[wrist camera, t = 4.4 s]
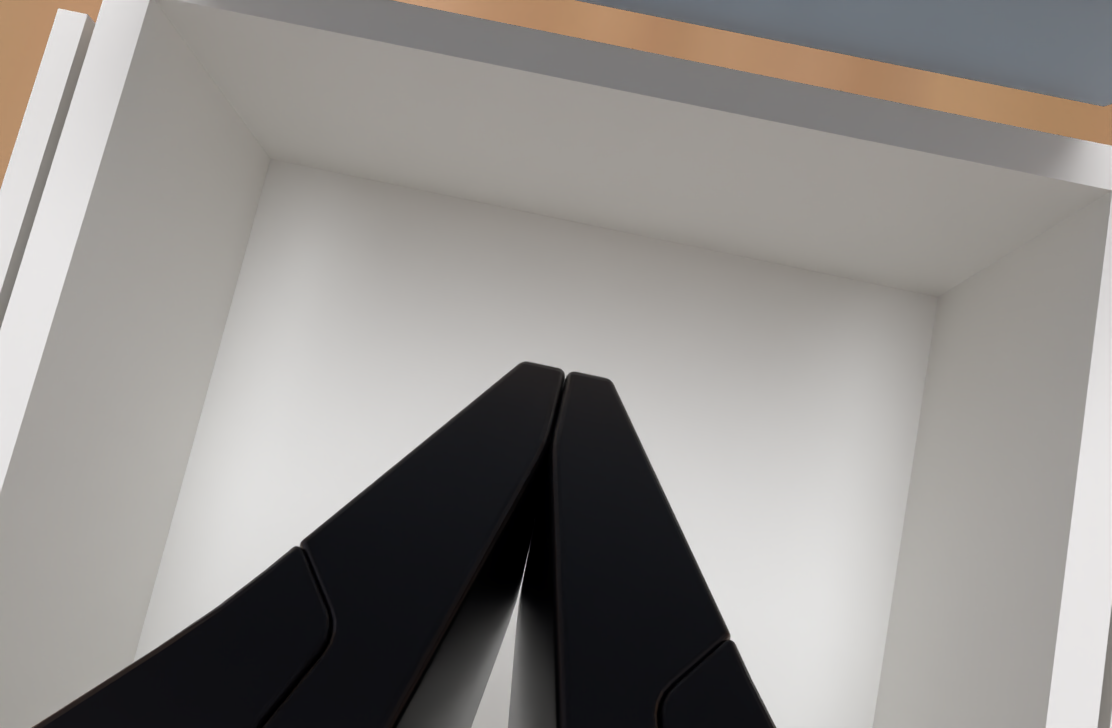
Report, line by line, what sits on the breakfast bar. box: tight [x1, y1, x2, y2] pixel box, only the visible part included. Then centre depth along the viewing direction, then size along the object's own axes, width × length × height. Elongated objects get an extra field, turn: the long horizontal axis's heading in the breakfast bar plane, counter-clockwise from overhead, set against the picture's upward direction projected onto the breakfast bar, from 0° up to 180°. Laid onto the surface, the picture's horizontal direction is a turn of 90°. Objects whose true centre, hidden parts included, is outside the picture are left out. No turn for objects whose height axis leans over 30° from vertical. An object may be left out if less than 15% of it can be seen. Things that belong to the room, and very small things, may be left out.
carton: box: [0, 0, 1112, 728], centre depth 15 cm, size 13×15×6 cm
